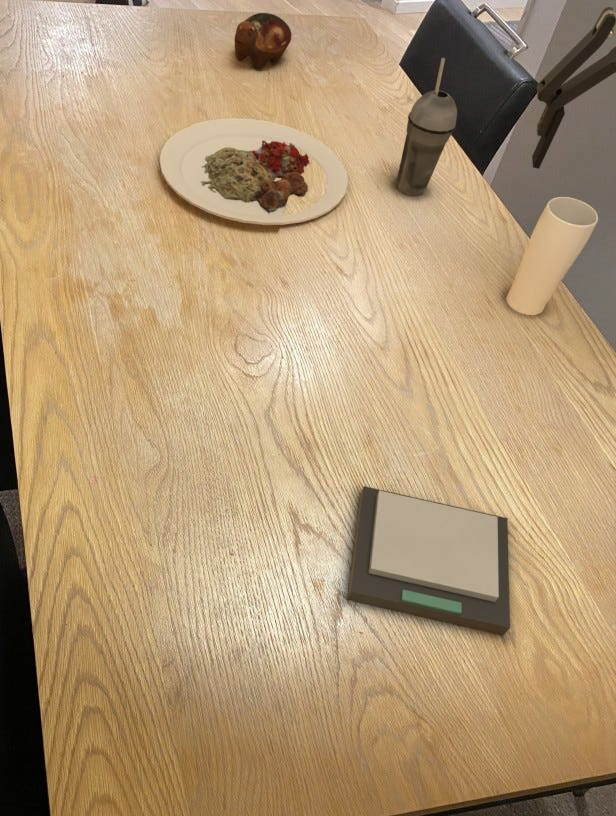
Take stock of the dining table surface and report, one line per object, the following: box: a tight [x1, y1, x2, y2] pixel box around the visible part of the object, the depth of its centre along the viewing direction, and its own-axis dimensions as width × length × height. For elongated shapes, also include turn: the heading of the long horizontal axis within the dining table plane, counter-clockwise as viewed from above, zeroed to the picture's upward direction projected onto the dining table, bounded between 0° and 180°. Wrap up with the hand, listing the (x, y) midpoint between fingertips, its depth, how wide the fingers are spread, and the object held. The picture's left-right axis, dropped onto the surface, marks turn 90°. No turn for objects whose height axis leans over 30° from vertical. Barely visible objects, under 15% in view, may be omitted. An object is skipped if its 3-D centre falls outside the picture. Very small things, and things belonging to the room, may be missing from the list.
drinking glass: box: [505, 196, 599, 316], centre depth 103 cm, size 7×7×15 cm
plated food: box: [159, 117, 349, 226], centre depth 120 cm, size 30×30×3 cm
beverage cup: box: [395, 57, 458, 198], centre depth 115 cm, size 7×7×20 cm
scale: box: [346, 485, 511, 637], centre depth 80 cm, size 16×14×4 cm
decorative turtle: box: [234, 12, 292, 71], centre depth 142 cm, size 10×15×8 cm, turn 143°
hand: (590, 174), depth 93 cm, fingers open, 13 cm apart
